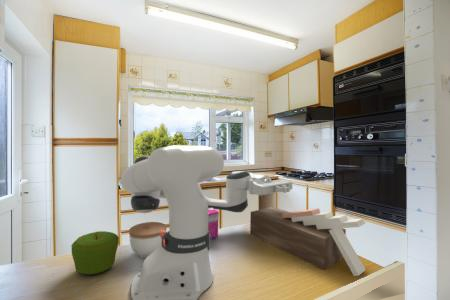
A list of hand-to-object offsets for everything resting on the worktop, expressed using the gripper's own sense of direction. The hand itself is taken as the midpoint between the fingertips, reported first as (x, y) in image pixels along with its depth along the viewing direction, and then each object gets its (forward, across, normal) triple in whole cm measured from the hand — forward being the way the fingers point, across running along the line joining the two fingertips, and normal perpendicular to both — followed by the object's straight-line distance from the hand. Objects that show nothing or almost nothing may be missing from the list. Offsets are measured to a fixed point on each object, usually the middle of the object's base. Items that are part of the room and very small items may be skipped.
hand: (287, 190), depth 91 cm
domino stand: (+3, 0, -21) cm, 21 cm away
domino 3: (+9, 0, -10) cm, 14 cm away
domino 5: (+20, +1, -9) cm, 22 cm away
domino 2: (+4, 0, -10) cm, 11 cm away
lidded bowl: (-23, +49, -21) cm, 58 cm away
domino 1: (-1, 0, -10) cm, 10 cm away
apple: (-22, +66, -21) cm, 72 cm away
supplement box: (-22, +24, -21) cm, 39 cm away
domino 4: (+14, 0, -10) cm, 17 cm away
